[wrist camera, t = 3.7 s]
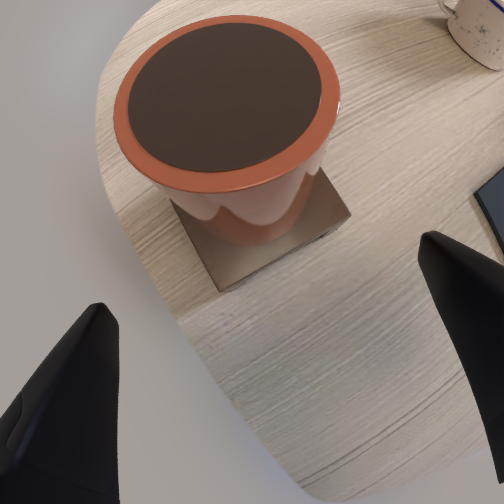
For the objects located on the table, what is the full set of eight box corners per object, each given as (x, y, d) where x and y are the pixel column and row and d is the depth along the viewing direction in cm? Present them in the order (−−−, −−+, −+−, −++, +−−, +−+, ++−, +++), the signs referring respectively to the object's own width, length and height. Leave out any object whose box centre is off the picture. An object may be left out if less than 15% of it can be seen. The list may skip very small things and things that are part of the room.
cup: (314, 240, 15) (364, 180, 6) (194, 252, 16) (102, 209, 7) (299, 132, 16) (315, 8, 7) (190, 144, 16) (126, 36, 8)
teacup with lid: (494, 35, 21) (531, -17, 9) (514, 85, 20) (566, 32, 8) (415, 0, 22) (442, -68, 10) (430, 45, 21) (472, -34, 9)
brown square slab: (230, 292, 19) (219, 293, 15) (174, 189, 20) (153, 168, 16) (337, 229, 19) (352, 215, 15) (274, 133, 20) (273, 102, 16)
